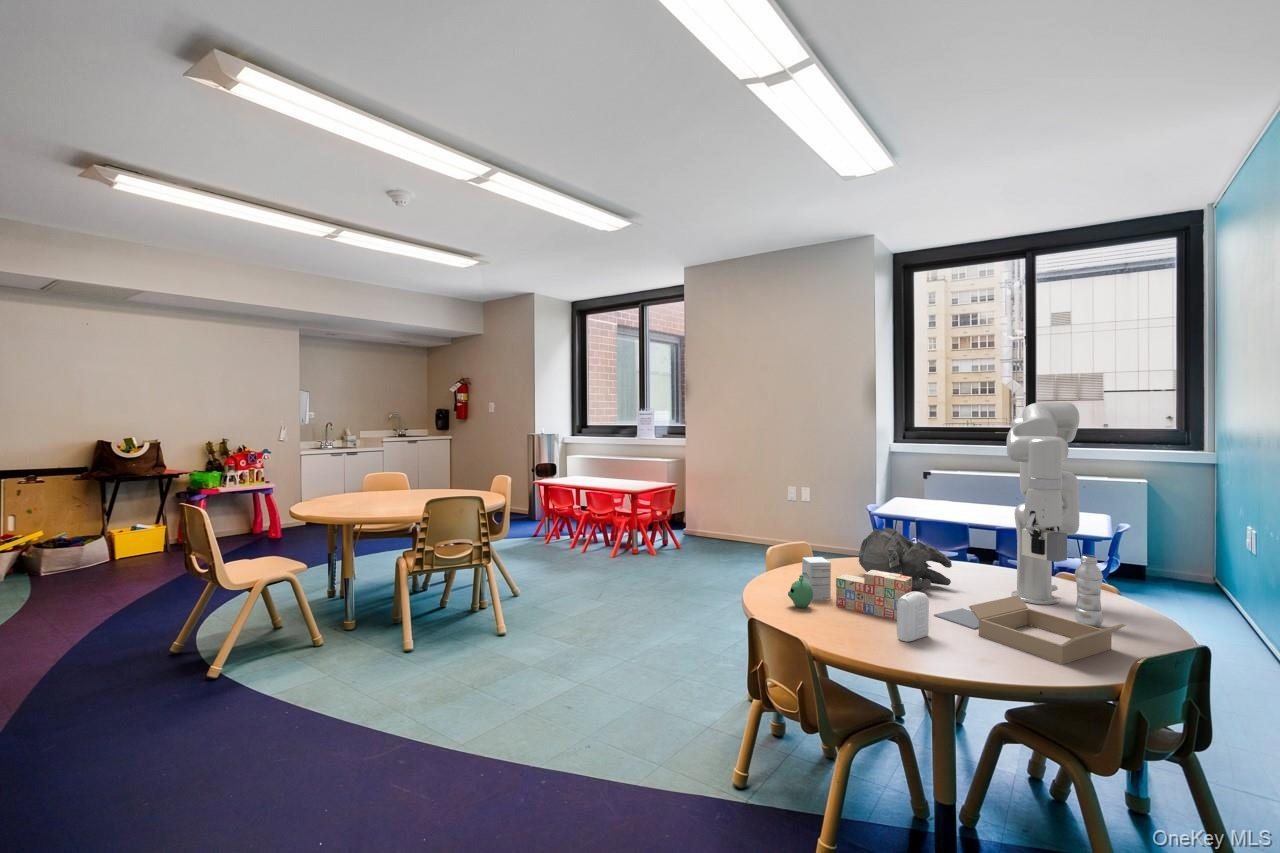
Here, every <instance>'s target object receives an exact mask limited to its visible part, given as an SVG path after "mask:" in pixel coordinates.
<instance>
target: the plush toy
mask: <svg viewBox="0 0 1280 853" xmlns="http://www.w3.org/2000/svg"><path fill="white" fill-rule="evenodd" d="M872 529H873V530H872V532H870V533H869V534H868V535H867V537H866V538H864V539H863V540H862V543H861V544H860V549H859V552H858V562H859V565H860V566H861V567H862V569H863V570H864V571H865V573H867V572H868V571H870V570H876V571H881V572H888V573H895V574H901V575H903V576H908V577H912V590H913V591H912V592H921V591H923V590H925V589H927V588H929V587H931V584H933V585H940V586H950V584H951V583H952V581H951V579H950V578H948V577H946V576H945V575H943V573H941V572H939V571H936V570H934V569H931V568H932V566H931V565H930V564H928V562H933V563H938V564H941V565H942V566H943V567H944V568H949V569H950V568H952V567H953V565H952V560H950V558H948V557H947V556H946V554H944V553H942V552H941V551H940V550H938V549H937V548H935V547H934V546H931V545H929V544H924V543H922V542H920V541H918V540H917V542H913V541H912V540H911V539H909V538H907V537H906V536H905V535H903V534H901V533H900V532H899V531H898V530H895V529H894V528H891V527H882V528H881V529H878V528H872Z"/></svg>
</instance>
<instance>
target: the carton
mask: <svg viewBox="0 0 1280 853" xmlns="http://www.w3.org/2000/svg"><path fill="white" fill-rule="evenodd" d="M968 608H969V609H970V611H972V612H973V614H974V615H975V616H976V618H977V619H978V620H979V628H978V637H981V636H982V638H984V639H988V640H990V639H991V640H990V641H993V642H997V643H999V644H1001V643H1002V645H1005V646H1008V647H1010V646H1011V648H1013V647H1014V648H1013V649H1016V648H1018V649H1017V650H1019V649H1020V650H1019V651H1022V650H1023V651H1022V652H1024V651H1026V652H1025V653H1027V652H1029V653H1028V654H1030V653H1032V654H1031V655H1033V654H1035V655H1034V656H1036V655H1038V656H1037V657H1039V656H1041V657H1040V658H1042V657H1044V658H1043V659H1045V658H1046V659H1045V660H1047V659H1049V660H1048V661H1050V660H1051V662H1053V661H1054V662H1053V663H1056V662H1057V664H1059V663H1060V664H1059V665H1064V664H1065V663H1066V664H1068V663H1071V662H1074V661H1078V660H1082V659H1084V658H1088V657H1090V656H1094V655H1097V654H1101V653H1104V652H1107V651H1110V650H1112V642H1113V640H1112V638H1113V637H1112V635H1113V633H1115V632H1117V631H1118V630H1120V629H1122V628H1124V627H1125V626H1126V624H1125V623H1121V624H1117V625H1113V626H1110V627H1105V628H1103V629H1102V628H1099V627H1094V626H1089V625H1085V624H1082V623H1078V622H1077V621H1076V620H1075V621H1074V620H1071V619H1067V618H1065V617H1060V616H1056V615H1053V614H1049V613H1046V612H1043V611H1038V610H1035V609H1032V608H1029V607H1028V605H1027V604H1026V602H1023V601H1022V599H1021V598H1020V597H1019V595H1018V596H1013V597H1012V596H1010V597H1005V598H999V599H995V600H991V601H985V602H981V603H976V604H973V605H969V606H968ZM1027 624H1029V625H1027ZM1023 625H1025V626H1031V625H1032V626H1031V627H1034V626H1036V627H1035V628H1037V627H1039V628H1038V629H1041V628H1042V629H1041V630H1044V629H1045V631H1047V630H1048V632H1050V631H1051V632H1050V633H1054V632H1055V633H1054V634H1057V633H1058V634H1057V635H1060V634H1061V635H1060V636H1063V635H1064V636H1063V637H1067V638H1071V639H1069V640H1068V641H1066V642H1064V643H1062V644H1059V643H1057V642H1054V641H1050V640H1047V639H1044V638H1041V637H1038V636H1035V635H1032V634H1029V633H1025V632H1023V631H1020V630H1016V628H1015V627H1017V628H1020V627H1019V626H1021V627H1024V626H1023ZM1012 628H1013V629H1012Z"/></svg>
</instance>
